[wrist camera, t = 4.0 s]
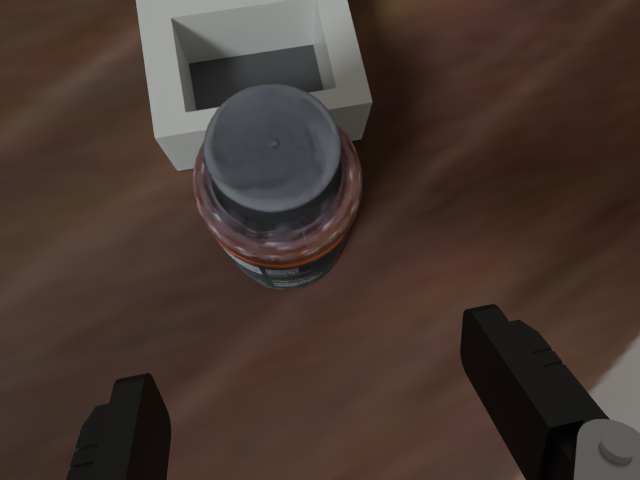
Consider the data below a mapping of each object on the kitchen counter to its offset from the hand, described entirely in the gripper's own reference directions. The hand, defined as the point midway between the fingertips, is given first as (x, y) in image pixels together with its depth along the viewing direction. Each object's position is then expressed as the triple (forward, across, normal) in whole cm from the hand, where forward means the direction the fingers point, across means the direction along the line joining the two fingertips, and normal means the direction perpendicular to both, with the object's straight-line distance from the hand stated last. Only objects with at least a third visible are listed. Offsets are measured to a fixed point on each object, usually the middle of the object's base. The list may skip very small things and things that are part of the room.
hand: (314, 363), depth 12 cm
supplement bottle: (+12, 0, +4) cm, 13 cm away
